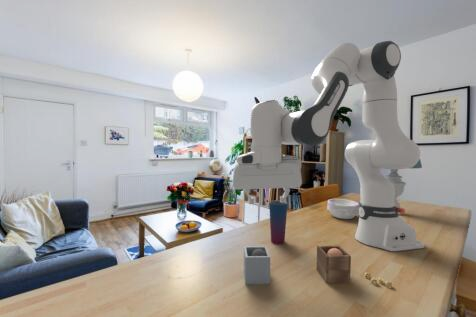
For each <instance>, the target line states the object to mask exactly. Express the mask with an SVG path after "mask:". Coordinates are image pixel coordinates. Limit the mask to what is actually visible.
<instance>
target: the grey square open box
mask: <svg viewBox="0 0 476 317" xmlns="http://www.w3.org/2000/svg"><path fill="white" fill-rule="evenodd" d="M256 249H262V250H263V251H264V252H265V253H266V256H252V252H253V251H254V250H256ZM243 276H244V285H270V284H271V254H270V253H269V250H268V247H267V246H266V245H261V246H255V245H254V246H252V245H251V246H250V245H249V246H246V245H245V246H243Z"/></svg>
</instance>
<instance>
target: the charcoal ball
mask: <svg viewBox="0 0 476 317" xmlns="http://www.w3.org/2000/svg"><path fill="white" fill-rule="evenodd" d="M252 256H266V253H265V252H264V251H263V250H262V249H256V250H254V251H253V252H252Z"/></svg>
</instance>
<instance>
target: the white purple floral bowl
mask: <svg viewBox="0 0 476 317" xmlns="http://www.w3.org/2000/svg"><path fill="white" fill-rule="evenodd" d="M326 205H327V206H326V207H327V211H328V212H330V213H331V215H332V216H333V217H334V218H337V219H341V220H351V219H354V217H355V216H356V215H359V202H357V201H354V200H350V199H343V198H331V199H327V204H326Z"/></svg>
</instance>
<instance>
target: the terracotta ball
mask: <svg viewBox="0 0 476 317" xmlns="http://www.w3.org/2000/svg"><path fill="white" fill-rule="evenodd" d="M327 255H343V254H342V252H341V251H340V250H339V249H336V248H332V249H330V250H329V251H328V253H327Z"/></svg>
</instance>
